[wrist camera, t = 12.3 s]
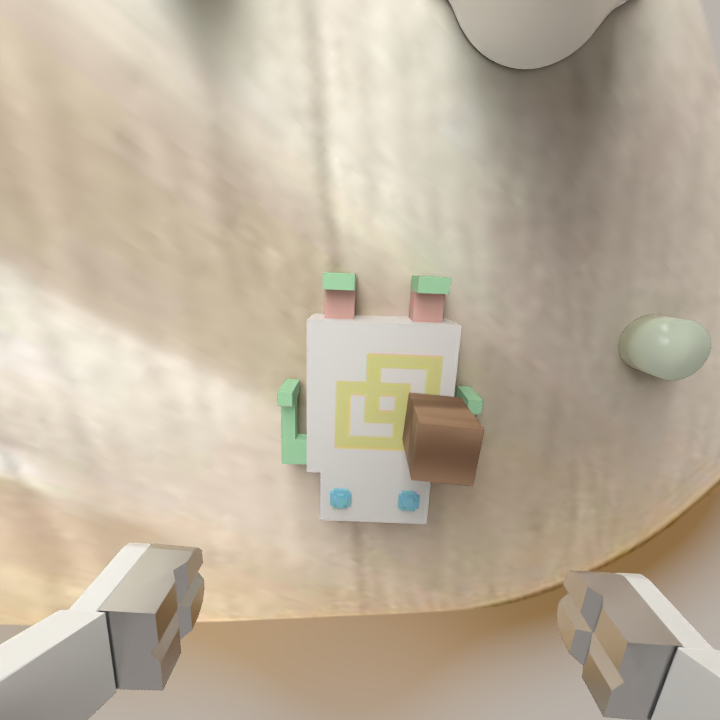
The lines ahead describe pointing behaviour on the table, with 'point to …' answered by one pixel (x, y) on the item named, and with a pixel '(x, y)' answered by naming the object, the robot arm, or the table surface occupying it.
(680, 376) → the sage rounded block
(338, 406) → the decorative block
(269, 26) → the table surface
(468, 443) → the walnut block
